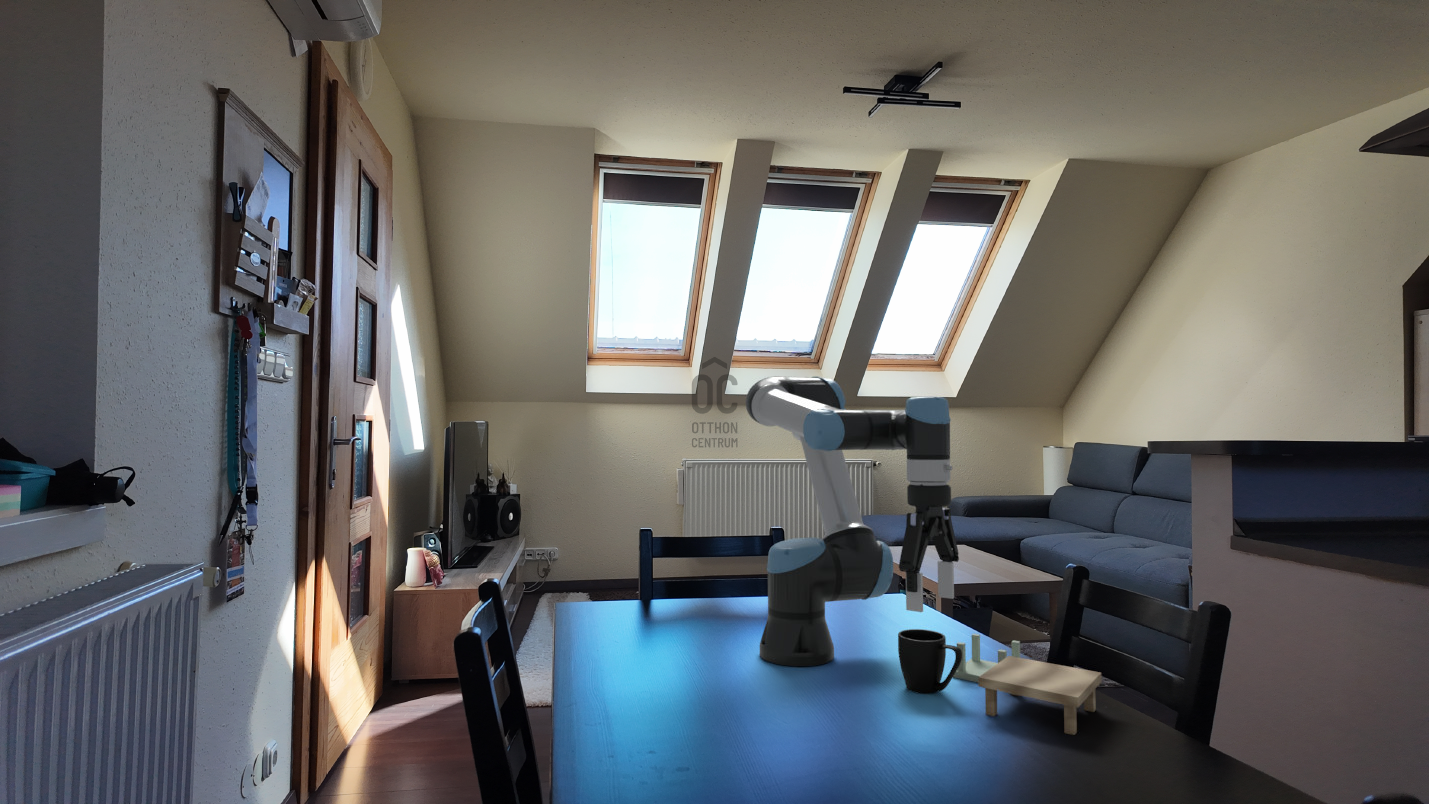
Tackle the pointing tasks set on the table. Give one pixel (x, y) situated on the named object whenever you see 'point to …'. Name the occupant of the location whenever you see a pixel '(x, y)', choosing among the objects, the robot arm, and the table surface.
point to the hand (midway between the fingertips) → (931, 604)
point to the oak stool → (1042, 686)
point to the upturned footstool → (977, 666)
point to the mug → (925, 660)
